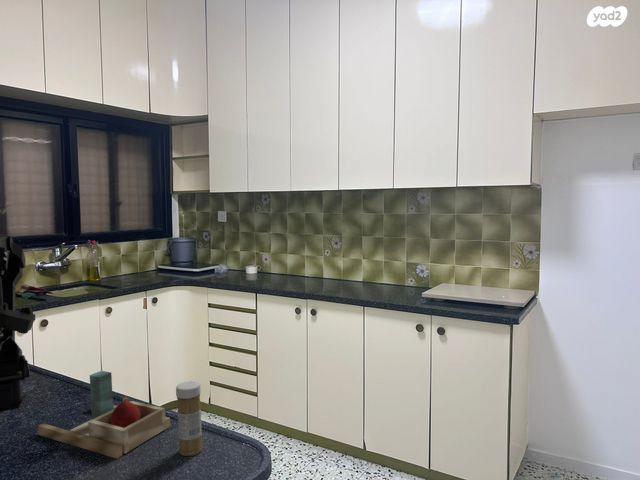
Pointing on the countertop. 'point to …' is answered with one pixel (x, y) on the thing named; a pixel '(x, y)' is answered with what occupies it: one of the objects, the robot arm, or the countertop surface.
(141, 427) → the wooden open tray
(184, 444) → the sprinkles bottle
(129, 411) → the onion
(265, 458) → the countertop surface
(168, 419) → the guide rails
